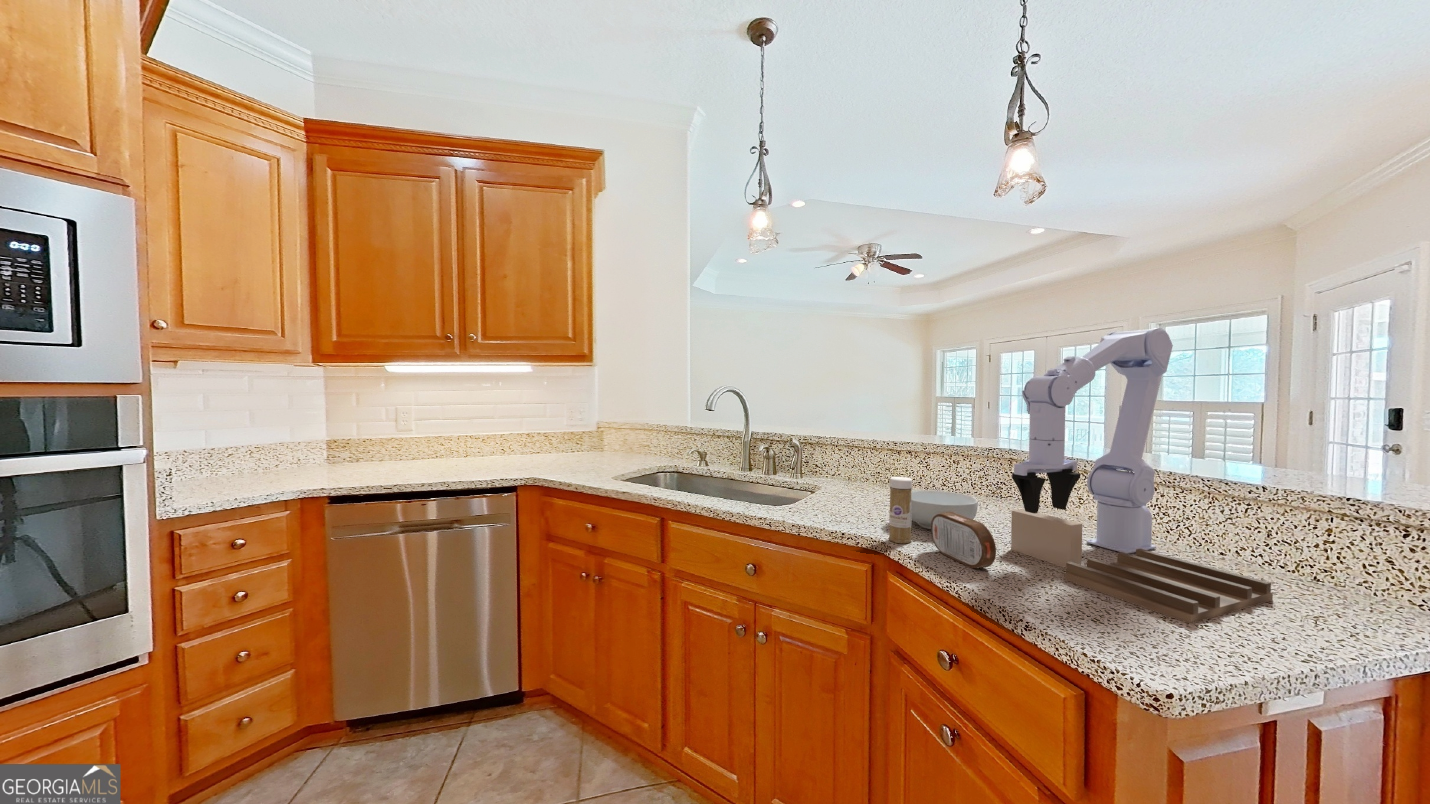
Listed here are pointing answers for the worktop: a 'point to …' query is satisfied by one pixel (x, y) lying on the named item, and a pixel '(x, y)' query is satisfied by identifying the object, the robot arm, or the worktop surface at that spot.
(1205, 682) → the worktop surface
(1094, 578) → the rack
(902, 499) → the sprinkles bottle
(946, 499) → the cereal bowl
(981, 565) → the tin
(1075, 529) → the beige rectangular board
